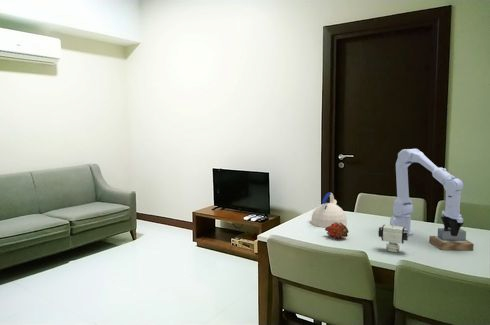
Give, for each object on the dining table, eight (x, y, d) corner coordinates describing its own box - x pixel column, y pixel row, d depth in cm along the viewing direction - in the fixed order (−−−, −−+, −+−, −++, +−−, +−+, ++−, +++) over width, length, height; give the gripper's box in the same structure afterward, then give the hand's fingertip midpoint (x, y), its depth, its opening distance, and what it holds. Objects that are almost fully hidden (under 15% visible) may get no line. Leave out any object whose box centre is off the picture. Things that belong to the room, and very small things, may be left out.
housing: (442, 240, 157) (443, 229, 156) (437, 237, 162) (438, 226, 161) (465, 241, 156) (466, 229, 156) (459, 237, 161) (460, 226, 161)
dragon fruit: (349, 243, 168) (326, 243, 175) (352, 230, 174) (329, 229, 180) (344, 232, 164) (321, 232, 171) (347, 218, 170) (324, 219, 176)
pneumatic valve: (379, 247, 158) (380, 221, 157) (407, 251, 153) (408, 225, 151) (377, 250, 154) (378, 224, 153) (406, 255, 148) (407, 228, 147)
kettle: (351, 221, 202) (352, 191, 201) (340, 230, 185) (341, 197, 183) (318, 217, 213) (318, 188, 211) (305, 225, 196) (305, 193, 194)
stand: (440, 249, 154) (441, 242, 154) (429, 241, 165) (429, 235, 165) (473, 250, 153) (473, 243, 153) (459, 242, 164) (459, 235, 164)
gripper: (471, 208, 150) (469, 239, 151) (453, 201, 164) (451, 229, 166) (454, 208, 150) (452, 238, 152) (437, 201, 165) (436, 229, 166)
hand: (451, 234), depth 159 cm, fingers closed on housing, 5 cm apart
